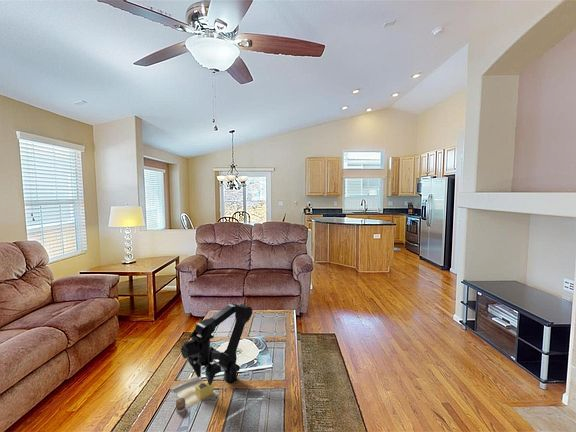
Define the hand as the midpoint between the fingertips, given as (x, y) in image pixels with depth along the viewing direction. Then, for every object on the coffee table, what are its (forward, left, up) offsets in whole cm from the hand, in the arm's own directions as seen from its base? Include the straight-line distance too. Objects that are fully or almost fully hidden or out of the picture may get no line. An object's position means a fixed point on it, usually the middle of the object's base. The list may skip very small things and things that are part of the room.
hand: (204, 380), depth 149 cm
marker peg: (-2, +13, -7) cm, 15 cm away
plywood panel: (+6, +3, -7) cm, 10 cm away
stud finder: (0, 0, -7) cm, 7 cm away
